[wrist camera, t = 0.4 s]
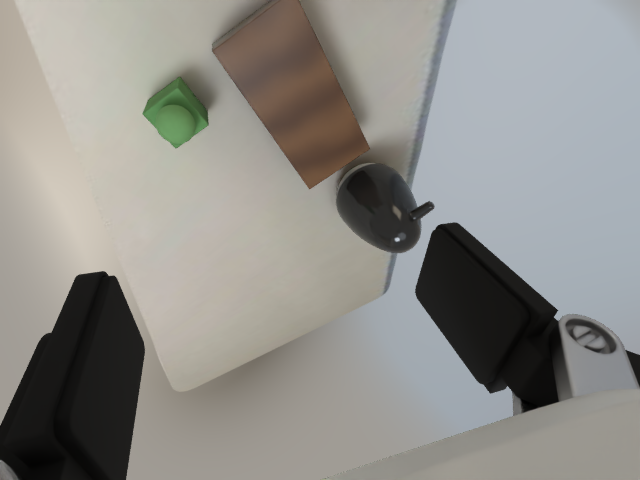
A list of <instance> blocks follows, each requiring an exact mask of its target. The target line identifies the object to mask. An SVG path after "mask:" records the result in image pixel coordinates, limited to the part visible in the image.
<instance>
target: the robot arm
mask: <svg viewBox="0 0 640 480" xmlns="http://www.w3.org/2000/svg"><path fill="white" fill-rule="evenodd" d="M415 290H416V291H415V293H416V296H417V299H418V300H419V301H420V303H421V304H422V306H423V307H424V308H425V310H426V311H427V313H428V314H429V315H430V316H431V318H432V320H433V321H434V322H435V324H436V325H437V326H438V328H439V329H440V331H441V332H442V333H443V335H444V336H445V337H446V339H447V340H448V342H449V343H450V344H451V346H452V347H453V348H454V350H455V351H456V353H457V354H458V355H459V357H460V358H461V360H462V361H463V362H464V364H465V365H466V366H467V368H468V369H469V370H470V372H471V373H472V375H473V376H474V377H475V379H476V380H477V381H478V382H479V383H480V384H484V386H485V387H486V389H487V390H488V391H489V393H494V392H497V391H501V390H504V389H506V387H507V386H508V387H509V388H510V389H511V391H512V393H513V416H512V417H509V418H506V419H503V420H500V421H497V422H494V423H491V424H488V425H485V426H482V427H479V428H476V429H473V430H469V431H466V432H463V433H460V434H457V435H454V436H451V437H448V438H445V439H442V440H439V441H436V442H433V443H431V444H427V445H424V446H421V447H418V448H415V449H412V450H409V451H406V452H403V453H400V454H397V455H394V456H391V457H388V458H385V459H382V460H379V461H376V462H373V463H370V464H367V465H364V466H361V467H358V468H355V469H352V470H349V471H346V472H343V473H340V474H337V475H334V476H331V477H328V478H325V479H322V480H640V355H638V354H635V353H632V352H629V351H627V350H625V348H624V346H623V344H622V342H621V341H620V339H619V337H618V336H617V335H616V334H615V333H614V332H613V331H612V330H610V329H609V328H608V327H606V326H605V325H603V324H601V323H600V322H598V321H596V320H594V319H591V318H589V317H586V316H582V315H577V314H568V315H565V316H562V318H561V319H560V320H559V321H557V320H556V319H555V318H554V316H555V314H556V313H557V311H558V310H557V309H556V308H555V307H553V306H552V305H551V304H550V303H549V302H548V301H547V300H546V299H544V298H543V297H542V296H541V295H540V294H539V293H538V292H536V291H535V290H534V289H533V288H532V287H531V286H529V285H528V284H527V283H526V282H525V281H524V280H523V279H522V278H520V277H519V276H518V275H517V274H516V273H515V272H514V271H512V270H511V269H510V268H509V267H508V266H507V265H505V264H504V263H503V262H502V261H501V260H500V259H499V258H497V257H496V256H495V255H494V254H493V253H492V252H491V251H489V250H488V249H487V248H486V247H485V246H484V245H483V244H481V243H480V242H479V241H478V240H477V239H476V238H475V237H473V236H472V235H471V234H470V233H469V232H468V231H466V230H465V229H464V228H463V227H462V226H461V225H460V224H458V223H447V224H440V225H438V226H437V227H436V229H435V230H434V231H433V232H432V234H431V238H430V241H429V244H428V248H427V251H426V254H425V258H424V261H423V265H422V268H421V271H420V275H419V278H418V282H417V285H416V289H415ZM144 354H145V348H144V342H143V339H142V337H141V335H140V332H139V330H138V327H137V325H136V323H135V320H134V318H133V315H132V313H131V311H130V309H129V306H128V304H127V301H126V299H125V297H124V294H123V292H122V289H121V287H120V285H119V282H118V280H117V278H116V277H115V276H108V274H107V273H106V272H104V271H102V272H95V273H88V274H81V275H78V276H76V278H75V280H74V282H73V285H72V287H71V289H70V291H69V294H68V296H67V298H66V301H65V303H64V305H63V308H62V310H61V312H60V314H59V317H58V319H57V321H56V324H55V326H54V328H53V331H52V333H48V334H46V335H44V336H43V337H42V338H41V340H40V341H39V343H38V345H37V347H36V349H35V351H34V354H33V356H32V358H31V360H30V362H29V365H28V367H27V369H26V371H25V373H24V375H23V378H22V380H21V382H20V384H19V386H18V389H17V391H16V393H15V395H14V397H13V400H12V401H11V404H10V406H9V408H8V410H7V413H6V415H5V417H4V419H3V421H2V423H1V425H0V480H126V476H127V469H128V462H129V455H130V449H131V442H132V435H133V428H134V422H135V415H136V408H137V402H138V395H139V388H140V382H141V375H142V367H143V361H144Z"/></svg>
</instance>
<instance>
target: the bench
mask: <svg viewBox="0 0 640 480" xmlns="http://www.w3.org/2000/svg"><path fill="white" fill-rule="evenodd" d="M212 47H213V48H212V51H213V53H214V54H215V56H216V57H217V59H218V60H219V61H220V63H221V64H222V66H223V67H224V69H225V70H226V71H227V73H228V74H229V76H230V77H231V79H232V80H233V81H234V83H235V84H236V86H237V87H238V88H239V90H240V91H241V93H242V94H243V96H244V97H245V98H246V100H247V101H248V103H249V104H250V106H251V107H252V108H253V110H254V111H255V113H256V114H257V116H258V117H259V118H260V120H261V121H262V123H263V124H264V125H265V127H266V128H267V130H268V131H269V133H270V134H271V135H272V137H273V138H274V140H275V141H276V143H277V144H278V145H279V147H280V148H281V150H282V151H283V152H284V154H285V155H286V157H287V158H288V160H289V161H290V162H291V164H292V165H293V167H294V168H295V170H296V171H297V172H298V174H299V175H300V177H301V178H302V180H303V181H304V182H305V184H306V185H307V187H308V188H309V189H311V188H312V187H314V186H315V185H317V184H318V183H320V182H321V181H323V180H324V179H326V178H327V177H329V176H330V175H332V174H333V173H335V172H336V171H338V170H339V169H341V168H342V167H344V166H345V165H347V164H348V163H350V162H351V161H353V160H354V159H356V158H357V157H359V156H360V155H362V154H363V153H365V152H366V151H368V150H369V149H370V147H369V145H368V143H367V141H366V139H365V137H364V135H363V133H362V131H361V129H360V126H359V124H358V122H357V120H356V118H355V116H354V114H353V112H352V110H351V108H350V106H349V104H348V102H347V99H346V97H345V95H344V93H343V91H342V89H341V87H340V85H339V83H338V81H337V79H336V77H335V75H334V72H333V70H332V68H331V66H330V64H329V62H328V60H327V58H326V56H325V54H324V52H323V50H322V48H321V45H320V43H319V41H318V39H317V37H316V35H315V33H314V31H313V29H312V27H311V25H310V23H309V20H308V18H307V16H306V14H305V12H304V10H303V8H302V6H301V4H300V2H299V0H270V1H269V2H268V3H266V4H265V5H264V6H262V7H261V8H260V9H258V10H257V11H256V12H254V13H253V14H252V15H250V16H249V17H248V18H246V19H245V20H244V21H242V22H241V23H240V24H238V25H237V26H236V27H234V28H233V29H232V30H230V31H229V32H228V33H226V34H225V35H224V36H222V37H221V38H220V39H219V40H217V41H216V42H215V43H213V44H212Z"/></svg>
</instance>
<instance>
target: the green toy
mask: <svg viewBox="0 0 640 480" xmlns="http://www.w3.org/2000/svg"><path fill="white" fill-rule="evenodd" d="M143 115H144V116H145V117H146V118H147V119H148V120H149V121H150V122H151V123H152V124H153V125H154V126H155V128H156V129H157V130H158V132H159V134H160V135H161V136H162V137H163V138H164V139H165V140H167V141H169V142H170V143H171V144H172V145H173V146H174V147H175V148H178V147H179V146H180V145H182V144H183V143H185V142H187V141H188V140H190V139H191V138H192V137H193V136H194V135H196V134H197V133H198V132H200V131H201V130H202V129H204V128H205V127H207V126H208V113H207V110H206V109H205V107H204V106H203V105H202V104H201V103H200V101H199V100H198V99H197V98H196V96H195V95H194V94H193V93H192V91H191V90H190V89H189V88H188V86H187V85H186V84H185V83H184V82H183V80H182V79H181V78H180V77H178V78H177V79H176V80H174V81H173V82H172V83H170V84H169V85H168V86H166V87H165V88H164V89H162V90H161V91H160V92H158V93H157V94H156V95H154V96H153V97H152V98H150V99H149V100H148V102H147V104H146V107H145V109H144V111H143Z"/></svg>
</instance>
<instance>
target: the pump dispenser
mask: <svg viewBox="0 0 640 480" xmlns="http://www.w3.org/2000/svg"><path fill="white" fill-rule="evenodd" d="M336 206H337V210H338V213H339V215H340V217H341V218H342V220H343V221H344V222H345V223H346V225H347V226H348V227H349V228H350V229H351V230H352V231H353V232H354V233H355V234H356V235H358V236H359V237H360V238H361V239H363V240H364V241H366V242H367V243H369V244H371V245H373V246H375V247H377V248H379V249H381V250H384V251H387V252H391V253H403V252H406V251H408V250H410V249H411V248H413V247H414V246H415V245H416V244H417V242H418V240H419V238H420V234H421V218H422V217H423V216H425V215H426V214H427V213H429V212H430V211H431V210H433V209H434V204H433V203H432V202H430V201H429V202H426V203H425V204H423V205H421V206H419V207H417V204H416V201H415V199H414V196H413V194H412V192H411V190H410V189H409V187H408V185H407V184H406V182H405V181H404V179H403V178H402V177H401V175H400V174H399V173H398V172H397V171H396V170H394V169H393V168H392V167H390V166H388V165H385V164H377V163H365V164H361V165H358V166H356V167H354V168H353V169H351V170H350V171H349V172H347V173H346V174H345V176H344V177H343V178H342V180H341V182H340V184H339V186H338V190H337V199H336Z"/></svg>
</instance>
